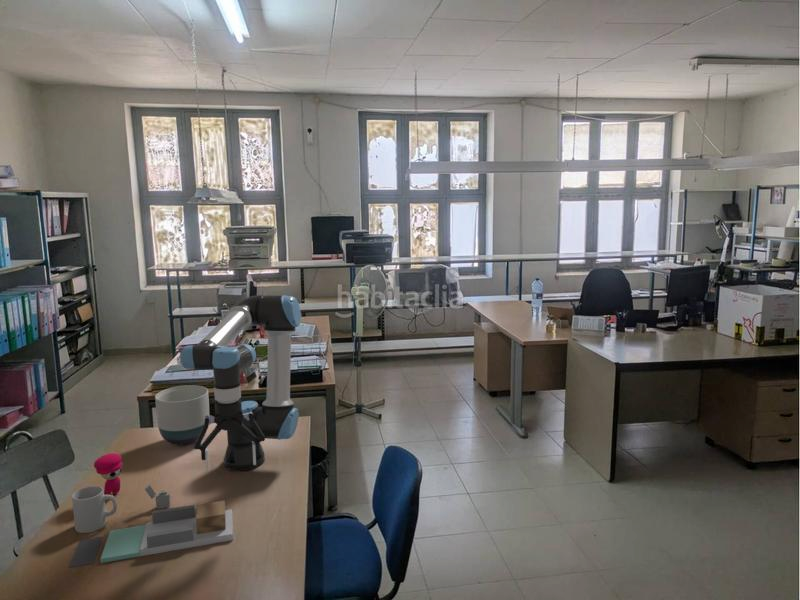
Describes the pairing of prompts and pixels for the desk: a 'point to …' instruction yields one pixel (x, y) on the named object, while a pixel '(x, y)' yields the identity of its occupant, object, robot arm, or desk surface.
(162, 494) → the lighter
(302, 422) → the desk surface
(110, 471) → the toy
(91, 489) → the mug
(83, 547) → the mat
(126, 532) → the tile
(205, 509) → the block
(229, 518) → the plate
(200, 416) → the planter
